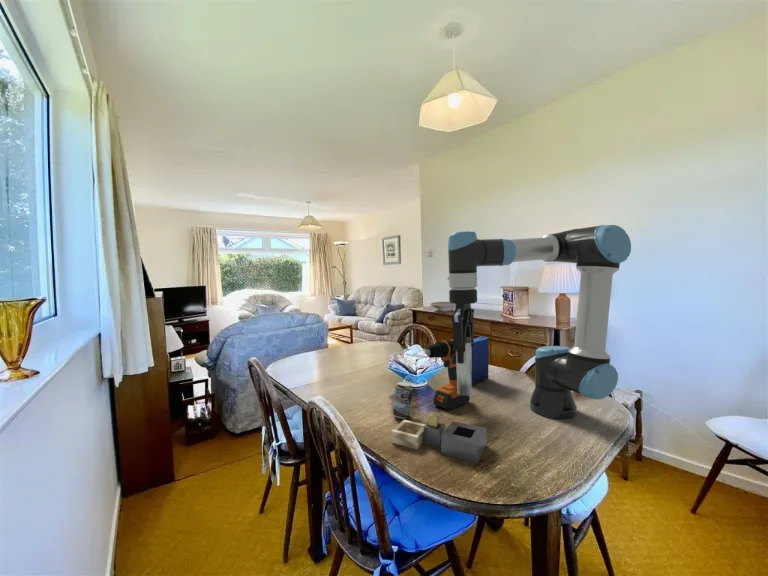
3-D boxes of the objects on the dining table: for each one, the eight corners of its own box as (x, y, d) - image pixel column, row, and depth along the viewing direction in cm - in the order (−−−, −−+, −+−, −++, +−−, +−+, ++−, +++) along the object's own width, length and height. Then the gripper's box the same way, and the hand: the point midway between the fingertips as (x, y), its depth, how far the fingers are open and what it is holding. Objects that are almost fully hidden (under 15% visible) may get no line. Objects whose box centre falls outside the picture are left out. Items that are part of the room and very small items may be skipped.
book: (481, 376, 162) (480, 334, 161) (490, 379, 158) (490, 336, 157) (462, 384, 153) (461, 339, 151) (472, 387, 149) (472, 341, 147)
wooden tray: (428, 439, 105) (428, 425, 105) (417, 452, 98) (417, 437, 98) (404, 433, 109) (403, 419, 109) (391, 445, 102) (391, 431, 102)
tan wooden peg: (441, 438, 102) (441, 413, 102) (437, 443, 100) (437, 417, 99) (431, 436, 104) (431, 411, 103) (427, 440, 101) (427, 415, 101)
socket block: (486, 448, 99) (486, 428, 99) (477, 466, 91) (477, 444, 90) (432, 435, 107) (432, 417, 107) (420, 450, 99) (419, 430, 98)
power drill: (435, 417, 120) (434, 347, 119) (420, 410, 126) (419, 343, 124) (473, 400, 134) (472, 337, 132) (458, 395, 140) (457, 335, 138)
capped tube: (473, 391, 97) (472, 336, 96) (469, 396, 93) (468, 339, 92) (459, 389, 99) (458, 335, 98) (455, 394, 96) (453, 337, 94)
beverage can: (389, 417, 121) (388, 384, 120) (403, 410, 126) (402, 378, 126) (402, 422, 117) (401, 388, 116) (416, 415, 122) (415, 382, 121)
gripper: (459, 286, 103) (460, 362, 105) (439, 290, 89) (440, 379, 90) (484, 286, 100) (485, 365, 101) (467, 291, 85) (469, 383, 87)
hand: (464, 371), depth 96 cm, fingers closed on capped tube, 4 cm apart
